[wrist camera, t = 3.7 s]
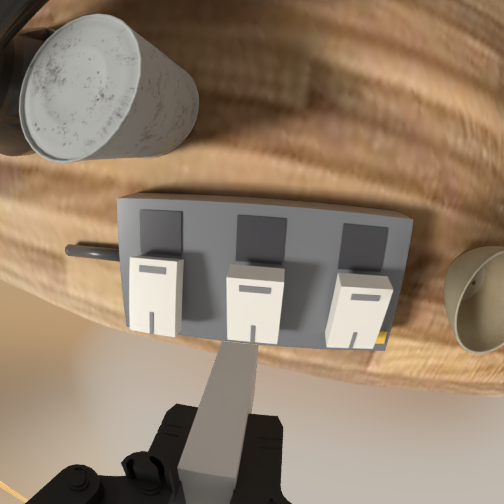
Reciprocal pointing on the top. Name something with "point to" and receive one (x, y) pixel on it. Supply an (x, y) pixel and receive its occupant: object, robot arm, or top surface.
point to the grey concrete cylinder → (104, 95)
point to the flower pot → (477, 299)
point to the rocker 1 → (156, 295)
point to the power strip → (260, 255)
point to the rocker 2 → (254, 303)
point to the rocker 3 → (357, 310)
